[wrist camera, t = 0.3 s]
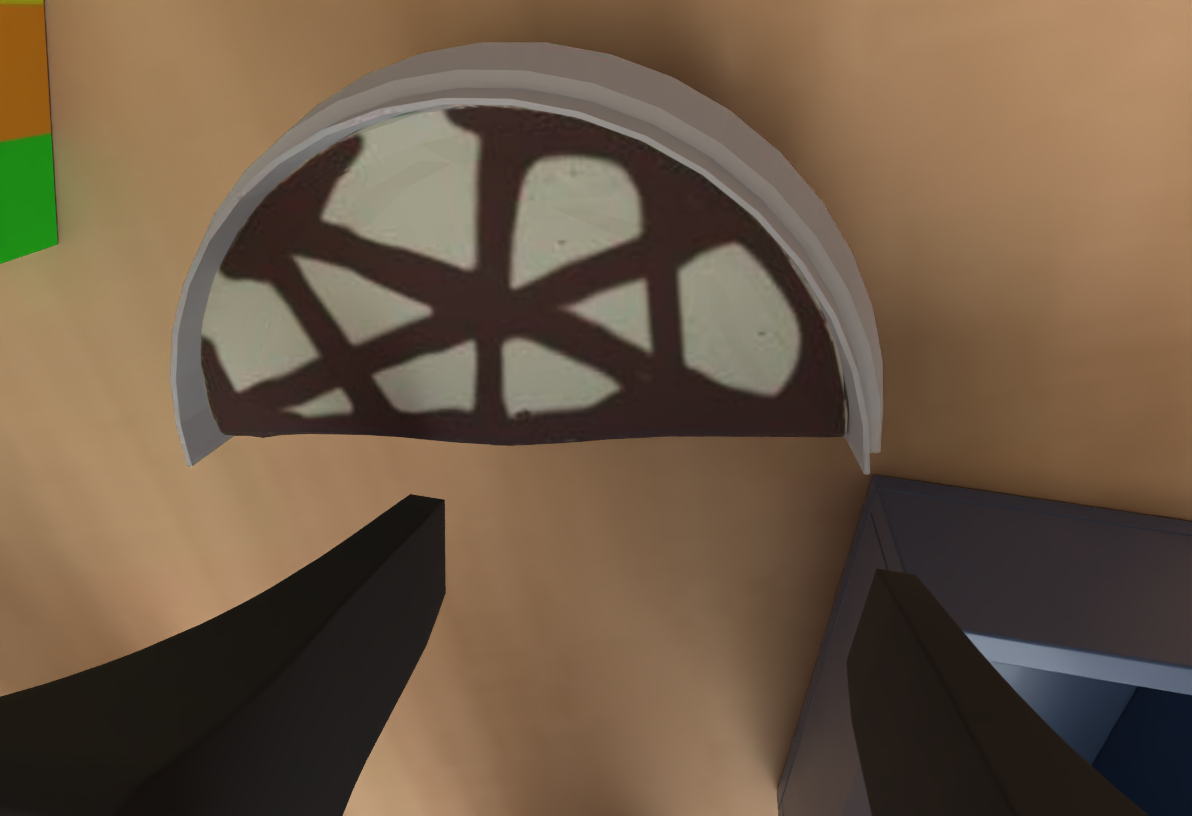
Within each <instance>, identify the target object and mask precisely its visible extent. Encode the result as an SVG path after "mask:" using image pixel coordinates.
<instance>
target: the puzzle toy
mask: <svg viewBox="0 0 1192 816" xmlns="http://www.w3.org/2000/svg"><path fill="white" fill-rule="evenodd" d="M57 244H58V239H57V222H56V205H55V188H54V170H53V153H52V136H51V119H50V101H49V84H48V67H47V50H46V32H45V15H44V0H0V264H1V263H4V262H7V261H10V260H13V259H16V258H19V257H22V256H24V255H27V254H30V253H33V252H36V251H39V250H42V249H45V248H48V247H51V246H54V245H57Z"/></svg>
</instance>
